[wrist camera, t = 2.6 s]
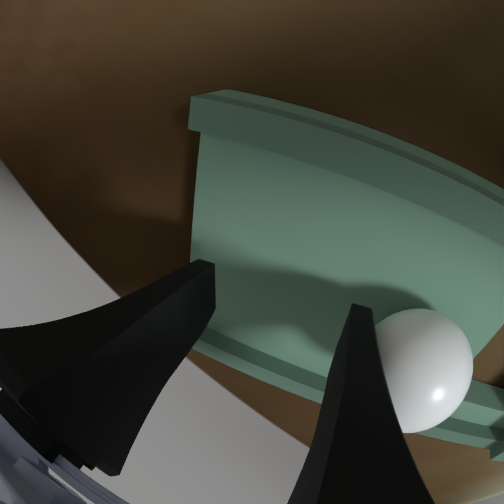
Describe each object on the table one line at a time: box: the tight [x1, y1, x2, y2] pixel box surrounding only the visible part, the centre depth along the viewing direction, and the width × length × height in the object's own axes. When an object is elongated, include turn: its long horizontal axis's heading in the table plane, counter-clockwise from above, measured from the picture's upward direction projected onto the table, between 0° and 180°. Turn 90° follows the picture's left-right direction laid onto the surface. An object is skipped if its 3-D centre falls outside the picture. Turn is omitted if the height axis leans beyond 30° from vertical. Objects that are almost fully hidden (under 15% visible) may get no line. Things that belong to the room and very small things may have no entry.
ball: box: [375, 308, 473, 433], centre depth 9 cm, size 4×4×4 cm
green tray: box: [188, 89, 504, 462], centre depth 10 cm, size 20×11×3 cm, turn 80°
